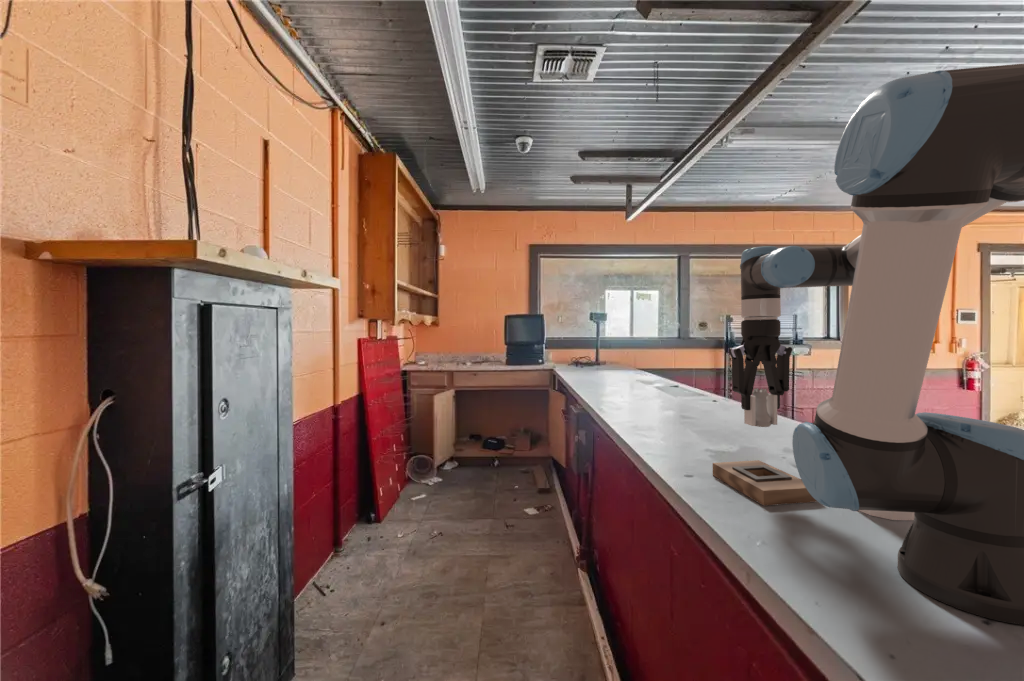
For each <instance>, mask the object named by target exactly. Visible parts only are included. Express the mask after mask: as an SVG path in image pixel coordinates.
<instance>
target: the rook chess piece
mask: <svg viewBox="0 0 1024 681" xmlns="http://www.w3.org/2000/svg"><path fill="white" fill-rule="evenodd" d="M768 393H769V392H768V390H767V389H766V388H760V389H759V388H758V387H757V388H753V391H752V396H756V426H755V427H758V428H769V427H771V425H773V424H772V423H770V421H771V418H770V417H769V414H768V412H767V406H766V402H767V400H766V397H767V396H768V395H769V394H770V393H769V394H768Z"/></svg>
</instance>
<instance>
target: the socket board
mask: <svg viewBox="0 0 1024 681" xmlns="http://www.w3.org/2000/svg"><path fill="white" fill-rule="evenodd" d="M712 476H713V477H715V478H717V479H719V480H720V481H722V482H723V483H725V484H727V485H728V486H730V487H731V488H734V489H735V490H737V491H738V492H740V493H742V494H744V495H745V496H747V497H749V498H750V499H752V500H753V501H755V502H757V503H759V504H760V505H762V506H773V505H774V506H775V505H776V506H777V504H778V505H791V504H805V503H819V502H818V501H816V500H815V499H814V498H813V497H812V496H811V494H810V493H809V492H808V490H807V489H806V487H805V486H804V484H803V482H802V480H801V478H799V477H797V476H795V475H792V474H790V473H788V472H785V471H784V470H782V469H779V468H777V467H774V466H773V465H770V464H768V463H766V462H763V461H762V460H758V459H757V460H756V459H755V460H754V459H753V460H742V461H741V460H740V461H739V460H738V461H723V462H712Z"/></svg>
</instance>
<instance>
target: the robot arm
mask: <svg viewBox="0 0 1024 681" xmlns="http://www.w3.org/2000/svg"><path fill="white" fill-rule="evenodd" d="M839 140H840V141H839V143H838V146H837V150H836V153H835V160H834V172H833V173H834V175H836V178H835V183H836V185H837V187H838V189H839V190H841V191H842V192H843V193H846V194H848V195H849V196H850V195H851V196H852V198H851V204H850V210H851V211H852V213H854V214H855V215H856V216H857V217H858V218H859V219H860V220H861V221H862V223H863V224H862V228H861V229H862V230H861V234H860V235H858V236H857V237H855V238H854V239H853V240H851V241H850V242H849V243H847V244H846V245H841V246H829V247H828V246H826V247H807V248H806V247H805V248H804V247H803V246H802V247H801V246H799V245H789V246H782V247H777V246H773V245H769V246H768V245H767V246H766V245H765V246H756V247H752V248H747V249H745V250H743V251H742V252H741V255H740V256H741V257H740V265H739V268H740V310H741V312H740V313H741V314H740V315H741V318H744V320H741V322H740V335H741V337H742V340H741V343H740V345H739V346H736V347H729V350H728V353H729V355H730V358H731V375H732V376H731V380H732V381H731V382H732V385H731V386H732V391H733V392H734V393H737V394H739V395H740V398H741V399H740V401H741V406H740V408H741V409H742V410H744V411H743V412H744V413H743V414H744V419H743V420H744V421H743V422H744V424H746V425H748V426H751V427H757V426H756V396H754V395H753V394H752V392H753V391H754V385H755V380H756V376H757V371H758V367H759V366H760V364H762V366H763V370H764V374H765V379H766V384H767V388H768V392H767V393H768V394H769V395H768V396H767V397H766V400H767V402H766V406H767V412H768V414H769V417H770V418H771V421H770V423H772V424H771V425H773V426H775V425H776V426H778V410H779V409H780V408H781V396H784V394H785V392H789V390H790V362H791V359H790V358H791V354H792V351H793V347H791V346H785V345H782V344H781V342H780V340H779V337H780V336H781V321H780V319H778V318H779V317H781V316H782V315H781V312H782V311H781V306H782V304H781V289H787V288H788V289H790V288H791V289H792V288H816V287H818V288H820V287H851V290H850V291H851V292H850V295H849V296H850V297H849V300H848V301H849V302H848V308H847V313H846V320H845V325H844V329H843V334H842V341H841V345H840V351H839V358H838V363H837V366H836V367H837V369H836V373H835V374H836V375H835V379H834V384H833V385H834V386H833V390H832V395H831V396H832V397H829V398H827V399H825V400H823V401H821V402H820V403H818V404H817V406H816V410H815V416H814V421H813V422H811V421H810V422H809V421H805V422H801V423H799V424H798V425H797V426H796V427H794V430H793V434H792V439H791V440H792V443H791V444H792V452H793V459H794V462H795V467H796V468H797V472H798V475H799V477H800V479H801V480H802V482H803V484H804V486H805V487H806V489H807V490H808V492H809V493H810V494H811V496H812V497H813V498H814V499H815V500H816V501H818V502H817V503H819V504H820V505H822V506H824V507H827V508H833V509H843V510H850V511H851V512H857V511H859V510H874V511H896V512H914V520H912V524H911V525H910V527H909V529H908V531H907V533H906V535H905V538H904V539H903V542H902V544H901V546H900V548H899V549H898V552H897V572H898V573H899V576H901V577H902V578H903V580H904V581H905V582H907V583H908V584H909V585H911V586H912V587H913V588H915V589H917V590H919V591H920V592H922V593H923V594H925V595H927V596H928V597H930V598H933V599H935V600H937V601H939V602H941V603H943V604H946V605H948V606H951V607H953V608H956V609H958V610H961V611H964V612H966V613H969V614H972V615H975V616H979V617H983V618H985V619H990V620H994V621H998V622H1002V623H1003V622H1004V623H1009V624H1013V625H1021V626H1024V429H1022V428H1019V427H1016V426H1012V425H1008V424H1003V423H998V422H997V423H996V422H994V421H989V420H988V421H987V420H982V419H978V418H977V419H976V418H970V417H965V416H964V417H963V416H958V415H951V414H946V413H945V414H944V413H937V412H917V413H916V411H917V406H918V403H919V399H920V395H921V391H922V387H923V384H924V378H925V375H926V371H927V368H928V363H929V358H930V356H931V351H932V347H933V343H934V338H935V334H936V331H937V328H938V323H939V320H940V319H939V318H940V315H941V312H942V311H941V310H942V308H943V302H944V298H945V295H946V291H947V287H948V283H949V279H950V276H951V271H952V267H953V263H954V259H955V255H956V251H957V248H958V243H959V240H960V235H961V231H962V229H963V227H964V226H967V225H969V224H970V223H972V222H975V221H976V220H978V219H979V218H981V217H983V216H985V215H987V214H989V213H990V212H991V211H994V210H996V209H997V208H999V207H1001V206H1003V205H1004V204H1007V203H1018V202H1023V201H1024V63H1015V64H1014V63H1013V64H1002V65H992V66H981V67H971V68H970V67H969V68H967V67H966V68H957V69H956V68H955V69H946V70H944V69H943V70H936V71H932V72H931V71H929V72H927V73H922V74H921V73H920V74H917V75H911V76H910V75H909V76H905V77H904V76H903V77H899V78H896V79H892V80H891V81H888V82H886V83H883V84H882V85H880V86H879V87H878V88H876V89H875V90H873V92H871V93H870V94H869V95H868V96H867V97H866V98H865V99H864V100H863V101H862V102H861V103H860V104H859V106H858V108H857V109H856V111H855V112H854V113H853V114H852V116H851V117H850V119H849V120H848V123H847V124H846V126H845V128H844V131H843V133H842V135H841V137H840V139H839ZM776 354H777V355H776ZM744 355H745V358H744Z"/></svg>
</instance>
